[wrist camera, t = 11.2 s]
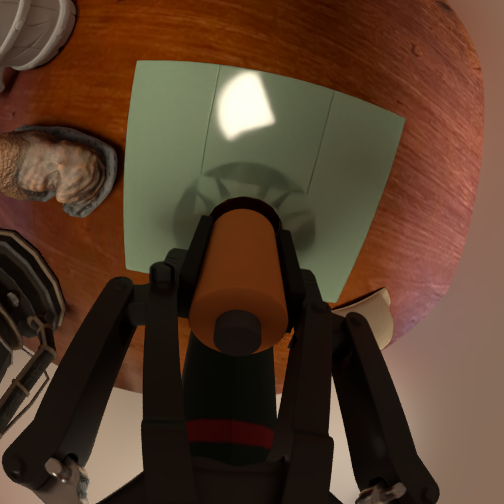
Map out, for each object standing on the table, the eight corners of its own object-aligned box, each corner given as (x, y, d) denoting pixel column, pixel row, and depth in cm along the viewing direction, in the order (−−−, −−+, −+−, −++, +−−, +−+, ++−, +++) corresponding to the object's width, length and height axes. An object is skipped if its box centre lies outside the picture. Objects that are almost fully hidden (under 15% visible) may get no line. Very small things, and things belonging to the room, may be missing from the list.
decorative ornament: (389, 311, 27) (407, 347, 22) (320, 338, 29) (329, 377, 24) (386, 286, 25) (407, 323, 20) (310, 315, 27) (319, 357, 22)
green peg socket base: (390, 115, 17) (406, 118, 14) (329, 286, 25) (335, 304, 23) (150, 64, 15) (136, 60, 13) (135, 254, 23) (125, 270, 21)
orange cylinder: (282, 215, 18) (305, 312, 10) (267, 270, 20) (275, 375, 12) (215, 203, 17) (186, 294, 9) (206, 260, 19) (183, 363, 12)
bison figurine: (132, 129, 17) (46, 161, 9) (120, 211, 21) (55, 284, 12) (27, 117, 15) (-55, 145, 7) (24, 186, 19) (-45, 235, 10)
